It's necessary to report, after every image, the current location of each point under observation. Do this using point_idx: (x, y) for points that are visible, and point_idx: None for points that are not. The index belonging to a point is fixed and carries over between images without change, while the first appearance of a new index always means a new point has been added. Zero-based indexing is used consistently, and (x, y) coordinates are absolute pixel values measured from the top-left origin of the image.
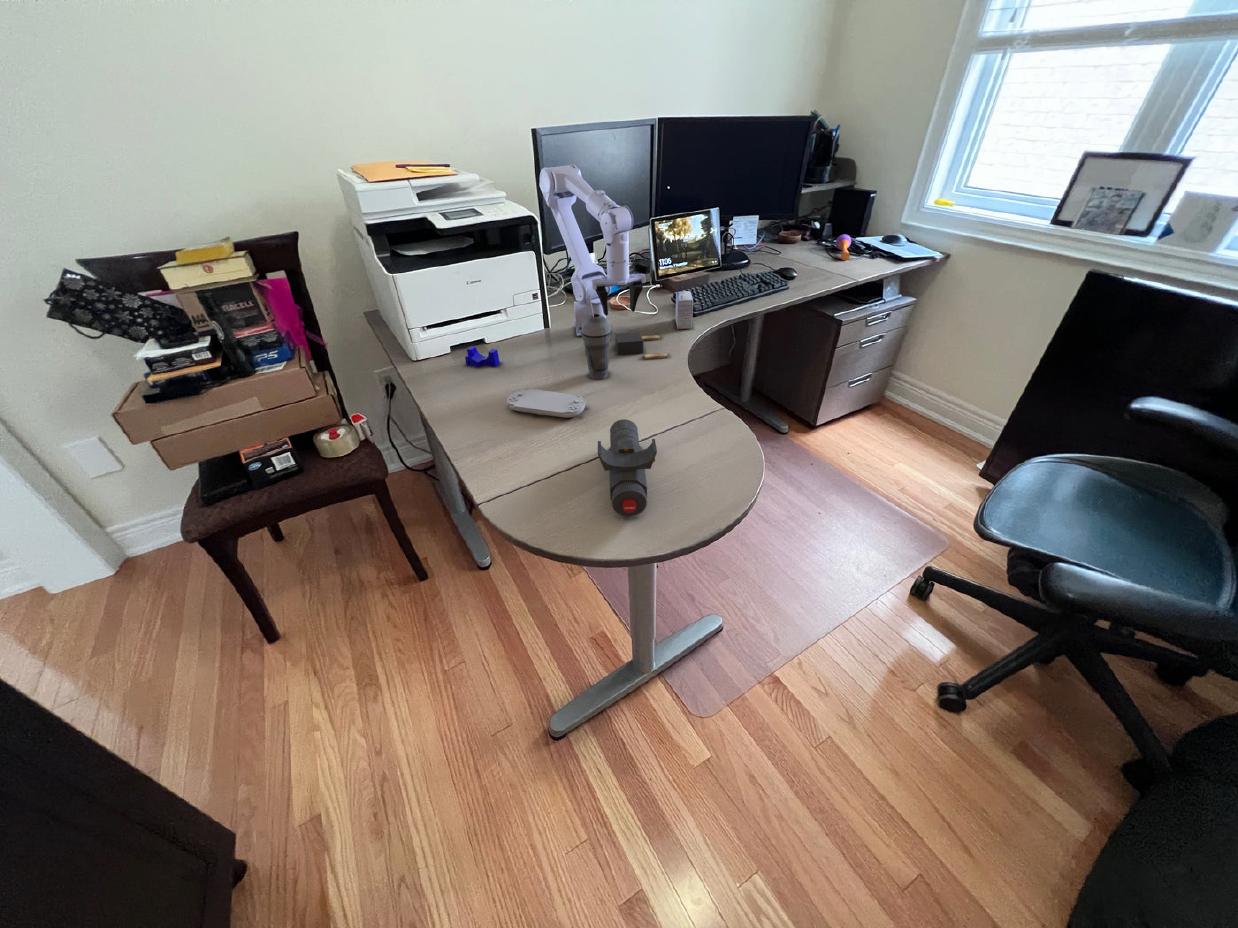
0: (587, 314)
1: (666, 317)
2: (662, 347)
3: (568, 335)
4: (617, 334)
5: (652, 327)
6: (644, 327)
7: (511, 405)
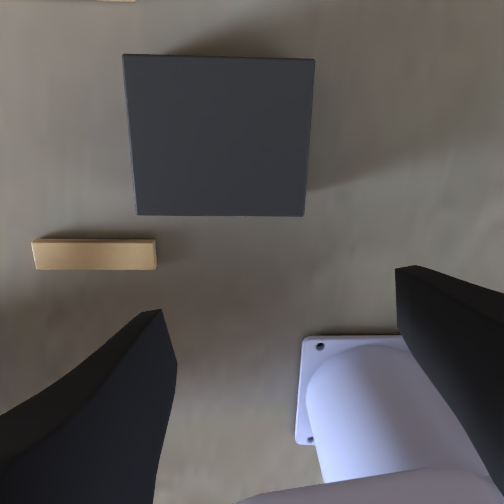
0: (454, 425)
1: None
2: (19, 125)
3: None
4: (290, 203)
5: None
6: None
7: None
